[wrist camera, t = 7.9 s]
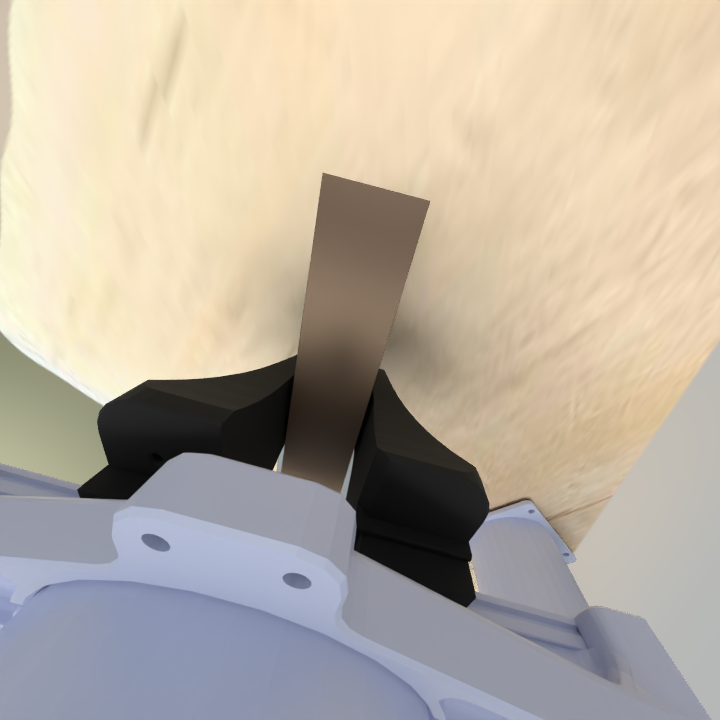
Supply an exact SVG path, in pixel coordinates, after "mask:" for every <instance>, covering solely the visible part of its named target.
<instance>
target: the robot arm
mask: <svg viewBox="0 0 720 720" xmlns="http://www.w3.org/2000/svg"><path fill="white" fill-rule="evenodd" d="M296 361H297V355H295V356H293V357H291V358H288V359H286V360H284V361H281V362H278V363H275V364H273V365H270V366H267V367H264V368H261V369H257V370H253V371H249V372H245V373H240V374H234V375H228V376H222V377H214V378H203V379H188V380H147V381H145V382H144V383H142V384H140V385H138V386H137V387H135V388H133V389H131V390H130V391H128V392H126V393H124V394H123V395H121V396H119V397H117V398H116V399H114V400H112V401H110V402H109V403H107V404H105V406H104V407H103V408H102V409H101V410H100V412H99V416H98V421H97V423H98V430H99V435H100V438H101V441H102V444H103V447H104V451H105V454H106V457H107V461H108V464H109V465H107V466H106V467H105V468H104V469H102V470H101V471H100V472H99V473H97V474H96V475H95V476H94V477H92V478H91V479H90V480H89V481H87V482H86V483H85V484H83V485H79V484H76V483H72V482H68V481H65V480H61V479H57V478H54V477H50V476H46V475H42V474H39V473H35V472H31V471H27V470H24V469H20V468H17V467H13V466H9V465H5V464H2V463H0V720H711V718H710V717H709V715H708V714H707V712H706V711H705V709H704V708H703V706H702V705H701V703H700V702H699V700H698V699H697V697H696V696H695V694H694V693H693V691H692V690H691V688H690V687H689V685H688V684H687V682H686V681H685V679H684V678H683V676H682V675H681V673H680V672H679V670H678V669H677V667H676V666H675V664H674V662H673V661H672V659H671V658H670V657H669V655H668V654H667V652H666V650H665V649H664V647H663V646H662V644H661V643H660V641H659V640H658V639H657V637H656V635H655V634H654V632H653V631H652V630H651V628H650V626H649V625H648V623H647V622H646V620H645V619H643V618H641V617H639V616H636V615H632V614H628V613H625V612H621V611H617V610H613V609H610V608H607V607H602V606H591V607H589V606H588V604H587V602H586V600H585V598H584V596H583V594H582V592H581V591H580V589H579V587H578V585H577V583H576V581H575V579H574V578H573V576H572V574H571V572H570V570H569V568H568V566H567V564H569V563H573V562H575V561H576V558H575V556H574V554H573V553H572V552H571V550H570V549H569V548H568V547H567V545H566V544H565V543H564V542H563V540H562V539H561V538H560V536H559V535H558V534H557V533H556V531H555V530H554V529H553V528H552V526H551V525H550V524H549V522H548V521H547V520H546V519H545V517H544V516H543V515H542V514H541V512H540V511H539V510H538V509H537V507H536V506H535V505H534V503H533V502H532V501H529V500H525V501H521V502H519V503H516V504H513V505H510V506H507V507H504V508H501V509H498V510H495V511H492V512H489V501H488V499H487V496H486V493H485V490H484V487H483V484H482V481H481V479H480V476H479V474H478V472H477V469H476V467H474V466H473V465H471V464H470V463H468V462H467V461H465V460H464V459H462V458H461V457H459V456H458V455H456V454H455V453H453V452H452V451H451V450H449V449H448V448H447V447H445V446H444V445H443V444H442V443H440V442H439V441H438V440H437V439H435V438H434V437H433V436H432V435H431V434H430V433H429V432H428V431H427V430H426V429H424V428H423V427H422V426H421V425H420V424H419V423H418V422H417V420H416V419H415V418H414V417H413V416H412V415H411V414H410V412H409V411H408V410H407V409H406V407H405V406H404V405H403V403H402V402H401V400H400V399H399V397H398V396H397V394H396V392H395V391H394V389H393V387H392V385H391V383H390V381H389V379H388V377H387V375H386V373H385V371H384V370H382V369H378V373H377V376H376V379H375V382H374V386H373V389H372V392H371V395H370V399H369V402H368V405H367V409H366V412H365V415H364V418H363V422H362V425H361V428H360V431H359V435H358V438H357V441H356V444H355V448H354V457H353V465H352V471H351V476H350V481H349V486H348V491H347V495H346V500H345V499H344V497H343V496H342V495H341V494H340V493H339V492H337V491H334V490H332V489H330V488H328V487H326V486H324V485H322V484H320V483H317V482H313V481H309V480H305V479H302V478H298V477H294V476H291V475H287V474H283V473H279V472H276V471H272V470H273V468H274V466H275V464H276V462H277V460H278V457H279V455H280V453H281V451H282V449H283V447H284V445H285V440H286V433H287V425H288V418H289V411H290V404H291V397H292V390H293V383H294V375H295V368H296ZM471 560H472V564H473V568H474V572H475V576H476V580H477V585H478V589H479V592H475V590H474V586H473V581H472V577H471V573H470V569H469V564H468V561H469V562H470V561H471Z"/></svg>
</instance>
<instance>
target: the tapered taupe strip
mask: <svg viewBox="0 0 720 720" xmlns="http://www.w3.org/2000/svg"><path fill="white" fill-rule="evenodd" d="M429 204H430V201H428V200H424V199H420V198H416V197H413V196H409V195H405V194H401V193H398V192H394V191H390V190H386V189H382V188H379V187H375V186H371V185H367V184H363V183H360V182H356V181H352V180H348V179H345V178H341V177H337V176H333V175H329V174H326V173H323V175H322V182H321V189H320V197H319V204H318V211H317V218H316V225H315V232H314V240H313V247H312V254H311V261H310V268H309V275H308V282H307V290H306V297H305V304H304V311H303V318H302V325H301V332H300V340H299V347H298V354H297V361H296V368H295V375H294V383H293V390H292V397H291V404H290V411H289V418H288V425H287V433H286V440H285V447H284V454H283V461H282V468H281V473H283V474H287V475H291V476H294V477H298V478H302V479H305V480H309V481H313V482H317V483H320V484H322V485H324V486H326V487H328V488H330V489H332V490H334V491H337V492H339V493H341V490H342V487H343V483H344V480H345V477H346V474H347V470H348V467H349V464H350V461H351V457H352V454H353V451H354V448H355V444H356V441H357V438H358V435H359V431H360V428H361V425H362V422H363V418H364V415H365V412H366V409H367V405H368V402H369V399H370V395H371V392H372V389H373V386H374V382H375V379H376V376H377V373H378V369H379V366H380V363H381V360H382V356H383V353H384V350H385V347H386V343H387V340H388V337H389V334H390V330H391V327H392V324H393V321H394V317H395V314H396V311H397V308H398V304H399V301H400V298H401V295H402V291H403V288H404V285H405V282H406V278H407V275H408V272H409V269H410V265H411V262H412V259H413V256H414V252H415V249H416V246H417V243H418V239H419V236H420V233H421V230H422V226H423V223H424V220H425V217H426V213H427V210H428V207H429Z"/></svg>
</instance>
